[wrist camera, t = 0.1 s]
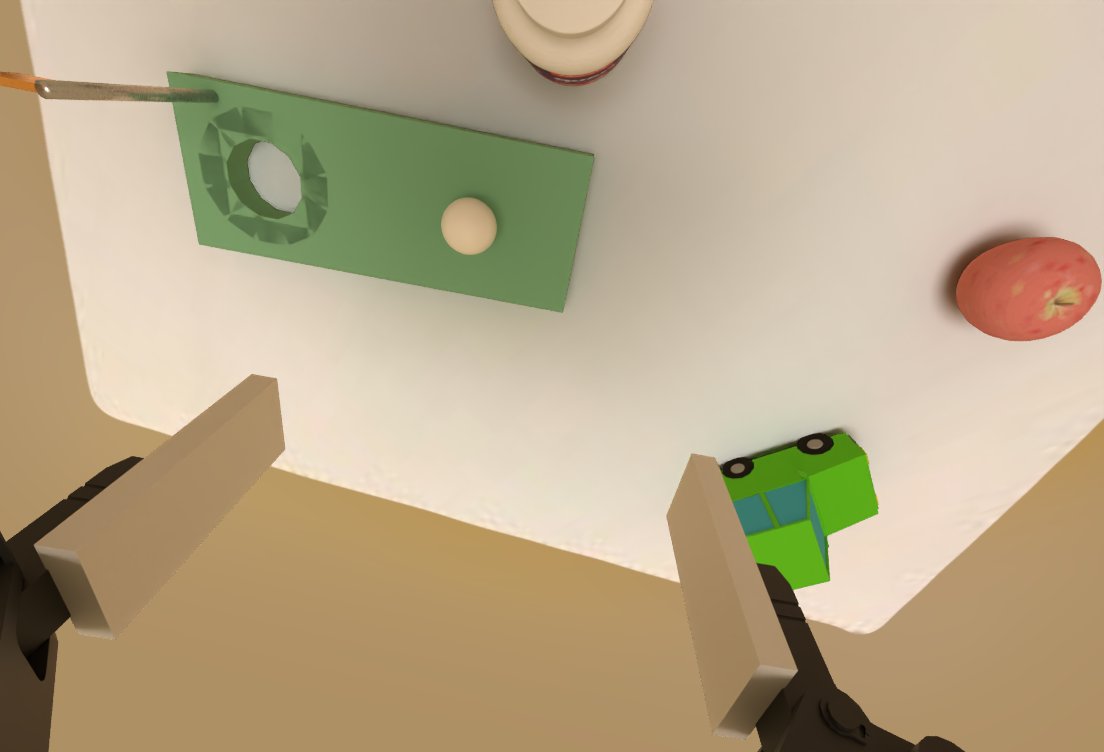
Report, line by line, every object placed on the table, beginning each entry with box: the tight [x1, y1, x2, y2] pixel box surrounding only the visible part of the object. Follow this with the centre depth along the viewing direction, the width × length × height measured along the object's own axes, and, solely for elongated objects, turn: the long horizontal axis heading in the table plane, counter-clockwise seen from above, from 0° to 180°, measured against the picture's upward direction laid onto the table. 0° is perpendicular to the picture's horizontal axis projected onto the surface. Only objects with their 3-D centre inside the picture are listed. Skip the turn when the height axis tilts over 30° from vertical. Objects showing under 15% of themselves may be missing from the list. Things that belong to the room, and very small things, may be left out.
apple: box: [956, 237, 1102, 341], centre depth 35 cm, size 7×7×8 cm
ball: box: [441, 197, 497, 255], centre depth 35 cm, size 4×4×4 cm
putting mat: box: [167, 71, 594, 313], centre depth 37 cm, size 12×30×2 cm, turn 80°
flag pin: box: [0, 72, 219, 103], centre depth 28 cm, size 1×4×12 cm, turn 80°
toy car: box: [720, 433, 879, 590], centre depth 45 cm, size 10×13×10 cm
